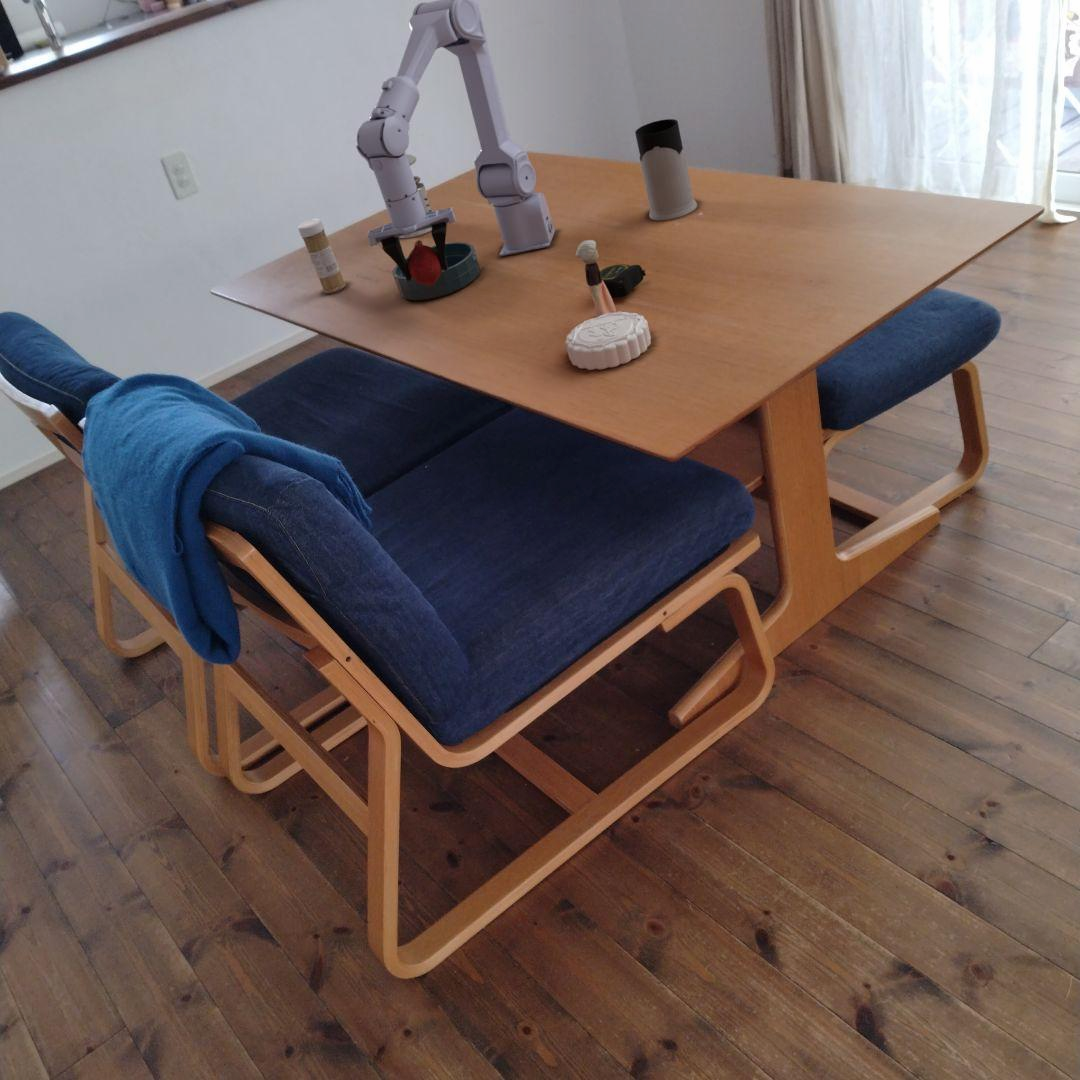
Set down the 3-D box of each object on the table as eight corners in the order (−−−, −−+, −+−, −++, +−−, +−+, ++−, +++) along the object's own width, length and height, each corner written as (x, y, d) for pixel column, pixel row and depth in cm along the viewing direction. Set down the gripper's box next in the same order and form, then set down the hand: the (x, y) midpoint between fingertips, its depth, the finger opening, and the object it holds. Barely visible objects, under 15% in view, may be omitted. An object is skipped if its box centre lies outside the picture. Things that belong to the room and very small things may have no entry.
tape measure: (627, 303, 170) (622, 281, 168) (590, 303, 174) (584, 281, 172) (648, 284, 174) (643, 261, 172) (611, 283, 178) (606, 262, 176)
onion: (442, 290, 183) (427, 244, 179) (411, 296, 185) (395, 251, 180) (452, 276, 188) (437, 231, 183) (421, 281, 189) (405, 237, 185)
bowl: (488, 258, 204) (481, 235, 201) (471, 292, 192) (463, 268, 189) (412, 274, 208) (404, 251, 206) (391, 308, 196) (383, 285, 193)
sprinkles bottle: (342, 281, 215) (316, 215, 208) (349, 287, 212) (323, 220, 204) (320, 291, 214) (294, 225, 207) (327, 296, 210) (300, 229, 203)
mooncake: (573, 378, 154) (566, 356, 152) (567, 344, 164) (561, 322, 162) (656, 356, 153) (651, 333, 151) (646, 323, 163) (640, 300, 161)
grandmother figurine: (624, 324, 164) (604, 243, 157) (599, 332, 164) (579, 252, 157) (610, 307, 171) (591, 229, 164) (587, 315, 171) (567, 237, 164)
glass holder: (646, 223, 197) (628, 140, 189) (656, 195, 208) (639, 115, 200) (694, 214, 194) (678, 129, 186) (702, 186, 205) (687, 105, 197)
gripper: (356, 214, 175) (384, 293, 182) (443, 189, 174) (468, 269, 181) (359, 201, 181) (387, 278, 188) (444, 177, 179) (468, 255, 187)
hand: (427, 273), depth 185 cm, fingers closed on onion, 6 cm apart
